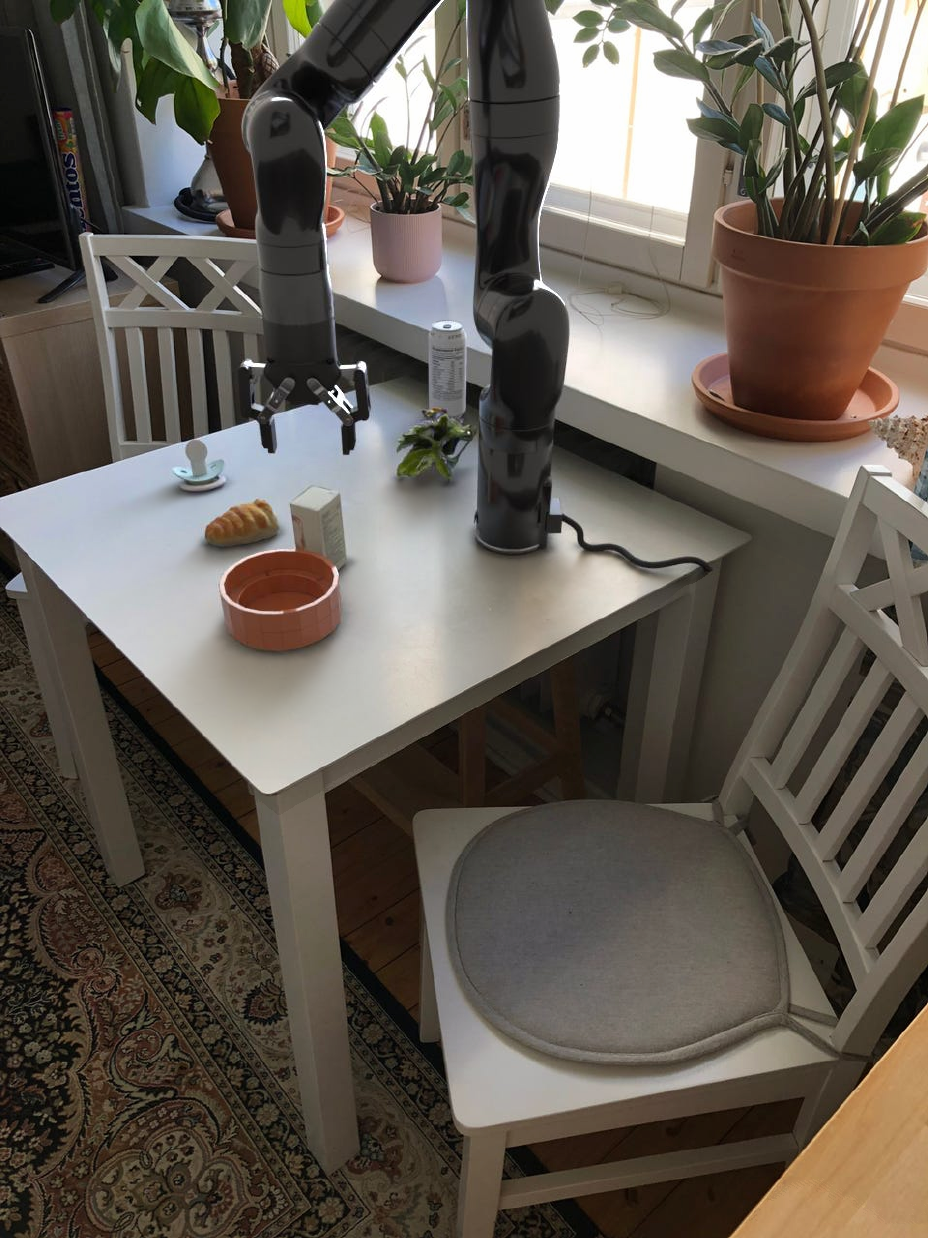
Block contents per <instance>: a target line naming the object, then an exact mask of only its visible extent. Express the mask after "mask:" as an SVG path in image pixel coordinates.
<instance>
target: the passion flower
mask: <svg viewBox="0 0 928 1238" xmlns="http://www.w3.org/2000/svg"><path fill="white" fill-rule="evenodd" d="M447 412H448V409H447V408H443V409H440V408H436V407H434V408H432V410H429V408H427V409H425V408H424V409H422V410H421V414H422V416H423V418H425V419H428V420H425V419H423V421H422V420H421V419H419V422H415V424H411V426H412V428H408V430H407V433H401V437H402V438H403V439H397V440H396V441H397V443H398V446H397V447H396V451H395V452H396V453H397V454H398V453H399V452H400V451H402V449H404V450H405V449H407V448H408V447H411V446H412V448H411V449H409V451H408V452H407V453H406V455H405V456H404V458H403V459H402V461H401V462H400V463H398V466H397V467H396V476H397V477H398V478H399V479H400V478H402V477H404V476H407V477H409V478H413V477H415V476H418V475H420V474H422V473H423V472H424V471H426V470H428V469H429V468H430V467H431V466H433V465H435V467H436V469H437V471H438V472H439V473H440V474H441V475H442V476H444V477H445V478H447V485H449V484H450V481H451V479H452V476H453V472H454V470H455V467H456V466H457V464H458V463H459V459H460V457H461V455H462V454H463V452H464V451H465V449H466V448H467V447H468V445H469V444H470V442H472V441H473V440H474V438H475V436H476V435H477V430H478V428H477V425H475V426H474V427H473V429H472V424H467V423H465V422H464V420H465V419H464V418H461V417H457V418H456V419H455V418H454V417H451V416H450V415H448V416H447V415H446V413H447ZM439 417H440V418H439ZM438 418H439V419H438ZM460 441H463V442H465V443H464V445H463V446H462V448H461V450H460V451H459V452H458V453H457V454H456V455H455V456H454V457H450V456H452V455H454V454H455V452H456V448H457V446H458V444H459V443H460Z"/></svg>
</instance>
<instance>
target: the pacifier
mask: <svg viewBox="0 0 928 1238" xmlns="http://www.w3.org/2000/svg"><path fill="white" fill-rule="evenodd" d="M184 450H185V455H186V458H187V459H188V460H189V462H190V468H189V467H186V466H185V467H184V466H174V467H172V473H173V474H174V475H175V476H176V477H178V478H179V479H181V480H182V481H181V483H180V484H179V487H180V488H181V490H184V491H188V492H202V491H208V490H212V489H216V488H218V487H221V486H222V485H223V484H225V482H226V480H227V479H226V477H225V476H224V475H221V473H222V472H223V471H224V469H225V466H226V462H225V460H224V459H217V460H213V461H212V462H209V463H208V464H207V461H206V459H207V456H208V447H207V445H206V444H205V442H204V441H202V440H200V439H196V438H195V439H191V440H189V441H188V442H187V443H186V445H185V448H184ZM215 480H216V481H215Z"/></svg>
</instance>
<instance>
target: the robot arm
mask: <svg viewBox="0 0 928 1238" xmlns="http://www.w3.org/2000/svg"><path fill="white" fill-rule="evenodd" d="M443 1H444V0H332V2H331V4H330V5H329V6H328V8H327V9H326V10H325V11H324V13H323V14H322V15H321V17H320V18H319V19H318V22H316V23H315V24H314V25H313V28H312V29H311V31H310V32H309V34H308V35H307V36H306V38H305V39H304V41H303V42H302V43H301V45H300V46H299V47H298V48H297V49H296V50H295V51H294V52H293V53H291V54H290V56H289V57H287V59H285V60H284V61H283V63H281V65H280V66H279V67H277V69H276V70H274V71H273V73H272V74H271V75H270V76H269V77H268V78H267V79H266V80H265V81H264V82H263V84H262V85H260V87H259V88H258V90H256V91H255V93H254V95H253V96H252V97H251V99H250V100H249V101H248V104H247V105H246V107H245V109H244V111H243V114H242V117H241V118H242V119H241V124H240V126H241V127H240V130H241V131H240V132H241V137H242V141H243V144H244V146H245V149H246V150H247V152H248V153H249V155H250V158H251V164H252V169H253V170H252V171H253V178H254V188H255V195H256V196H255V197H256V203H257V211H256V214H255V218H254V230H255V231H254V232H255V240H256V241H255V242H256V251H257V259H258V273H259V274H258V276H259V277H258V278H259V279H258V293H259V302H260V303H259V304H260V311H261V321H262V331H263V337H264V348H265V357H266V361H265V363H255V362H253V361H252V359H250V358H245V359H243V360H242V361H241V364H240V366H239V367H238V369H237V379H238V380H237V381H238V394H239V395H238V396H239V407H240V408H239V409H240V415H241V417H242V418H244V419H246V420H247V419H252V420H256V422H257V423H258V425H259V435H260V442H261V446H262V448H263V449H265V450H266V449H267V453H268V454H273V455H274V454H275V453H276V451H277V449H278V439H277V430H276V421H275V416H274V414H275V413H276V412H277V411H278V410H279V408H280V407H281V405H282V404H283V402H284V401H285V402H287V403H289V404H290V406H297V405H303V404H306V405H310V406H319V405H320V404H321V403H323V404H324V405H325V406H326V408H327V409H328V410H329V411H330V412H331V413H333V414H335V415H336V416H337V418H338V419H339V420H340V421H341V425H340V432H341V447H342V449H341V450H342V456H350V453H351V451H354V450H355V447H356V443H357V434H356V424H357V422H360V421H363V422H366V421H368V420H369V419H370V416H371V415H370V413H371V410H372V404H371V403H372V402H371V394H370V385H369V377H368V367H367V364H366V362H365V361H362V360H359V361H357V362H356V364H344V365H343V364H341V363H340V361H339V358H338V353H337V338H336V324H335V323H336V321H335V305H336V304H335V297H334V293H333V284H332V279H331V278H332V277H331V273H330V267H329V254H328V239H327V229H326V221H325V207H326V193H327V146H326V139H325V131H326V130H327V129H328V128H329V127H330V125H332V123H333V122H334V121H335V120H336V118H338V117H339V115H340V114H341V113H342V112H343V110H345V108H347V107H349V106H352V105H355V104H357V103H359V102H361V100H363V99H364V98H365V97H366V96H367V94H369V93H370V92H371V91H372V90H373V88H374V86H375V85H376V84H377V83H378V82H379V80H380V79H381V78H382V77H383V76H384V74H385V73H386V72H387V71H388V69H389V68H390V67H391V66H392V64H393V63H394V62H395V60H396V59H397V58H398V57H399V56H400V54H401V53H402V51H404V49H405V48H406V47H407V46H408V44H409V43H410V42H411V40H412V39H413V38H414V37H415V36H416V35H417V33H418V32H419V31H420V29H421V28H422V27H423V26H424V25H425V23H426V22H427V21H428V19H430V17H431V15H432V14H433V13H434V12H435V11H436V10H437V8H438V7H439V6H440V5H441V3H442V2H443ZM549 18H550V17H549V14H548V10H547V7H546V2H545V0H466V49H467V50H466V51H467V89H468V90H467V97H468V99H467V100H468V102H467V103H468V122H469V123H468V126H469V139H470V140H469V141H470V142H469V143H470V150H471V151H470V153H471V167H472V168H471V170H472V189H473V190H472V191H473V202H474V213H475V226H476V227H475V229H476V231H475V233H476V238H475V240H476V241H475V242H476V243H475V261H474V262H475V264H474V280H473V295H472V297H473V299H472V317H473V318H472V319H473V323H474V326H475V329H476V332H477V333H478V335H479V337H480V339H481V340H482V341H483V342H484V343H485V344H486V346H487V347H489V348H490V350H491V368H490V380H489V381H490V382H489V384H488V385H486V386H485V387H484V388H482V390H481V392H480V394H479V401H478V402H479V403H478V440H477V441H478V444H477V445H478V446H477V448H478V450H477V481H476V482H477V483H476V485H477V487H476V511H475V513H474V516H473V525H475V526H476V527H475V539H476V541H477V542H478V543H479V545H481V546H482V547H484V548H485V549H487V550H489V551H492V552H496V553H500V554H503V555H521V554H527V553H531V552H534V551H536V550H538V549H547V548H548V544H549V534H562V528H563V523H565V524H566V525H569V526H570V527H571V528H573V529H574V531H575V532H576V536H577V537H576V541H577V544H578V546H579V547H580V548H582V549H583V550H586V551H588V552H601V551H612V552H613V551H614V552H616V553H618V554H620V555H622V556H623V557H624V558H625V559H626V560H627V561H629V562H630V563H631V564H633V565H635V566H637V567H641V568H644V569H651V570H652V569H653V570H654V569H656V570H657V569H664V568H668V567H669V568H670V567H673V566H678V565H684V564H692V565H693V564H694V565H698V566H699V567H701V568H702V569H703V570H704V571H708V572H711V571H713V567H712V566H711V565H710V564H709V563H708V562H707V561H706V560H703V559H702V558H700V557H697V556H689V555H687V556H679V557H674V558H669V559H664V560H658V561H648V560H643V559H640V558H638V557H637V556H635V555H633V554H632V553H631V552H630V551H629V550H628V549H626V548H625V547H623V546H621V545H618V544H616V543H611V542H610V543H608V542H607V543H599V544H590V543H588V542H586V541H585V538H584V537H585V536H584V535H585V534H584V530H583V528H582V526H581V525H580V524H579V522H577V521H576V520H574V518H572V517H570V516H568V515H566V514H565V513H563V510H562V509H563V508H562V502H561V498H560V497H559V498H555V497H553V498H552V491H553V490H552V489H553V480H552V473H551V472H552V462H553V461H552V458H553V446H554V433H555V432H554V431H555V419H556V417H555V416H556V409H557V405H558V403H559V402H560V399H561V397H562V394H563V391H564V387H565V379H566V369H567V362H568V353H569V345H570V331H571V330H570V327H571V326H570V316H569V311H568V309H567V306H566V304H565V302H564V301H563V299H562V298H561V297H560V295H558V294H557V293H556V292H555V291H553V290H552V289H550V288H549V287H548V286H547V285H546V284H544V283H543V281H542V274H541V267H540V246H539V227H540V217H541V212H542V207H543V205H544V201H545V197H546V195H547V191H548V188H549V186H550V183H551V180H552V177H553V176H552V175H553V173H554V169H555V166H556V163H557V162H556V161H557V157H558V153H559V152H558V151H559V145H560V129H561V128H560V121H561V119H560V118H561V115H560V114H561V113H560V112H561V94H560V93H561V80H560V78H561V77H560V69H559V68H560V67H559V61H558V55H557V49H556V46H555V40H554V36H553V32H552V26H551V23H550V19H549ZM262 376H264V378H265V379H266V381H268V383H269V384H270V385H271V387H272V388H273V390H272V392H271V393H270V396H269V397H268V398H267V400H266V401H265V403H264V404H263V405H262V404H258V403H256V390H255V389H256V386H255V385H256V384H258V382H259V381H260V378H261V377H262ZM342 377H343V378H345V379H346V380H347V382H348V385H350V386H351V387H354V392H355V399H356V406H353V405H352V404H351V403H350V402H349V401H348V400H347V398H345V395H344V393H343V392H342V390H341V389H340V388H339V386H338V385H337V384H338V383H339V382H340V380H341V379H342Z"/></svg>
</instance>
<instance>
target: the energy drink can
mask: <svg viewBox="0 0 928 1238" xmlns="http://www.w3.org/2000/svg"><path fill="white" fill-rule="evenodd" d="M431 326H432V328H431V330H430V332H429V333H428V409H429V410H432V408H434V407H436V408H440V409H443V408H447V409H448V412H447V413H446V415H447V416H448V415H450V416H451V417H454V418H455V419H456V418H457V417H460V418H462V417H463V414H464V413H465V412H466V407H467V406H466V405H467V404H466V401H467V398H466V397H467V345H468V344H467V342H468V341H467V338H468V336H467V333H466V332H465V329H464V324H463V323H462V322H460V321H458V320H453V319H441V320H437V321H435V322H433V323H432V325H431ZM439 418H440V417H439ZM439 418H438V419H439Z"/></svg>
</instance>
